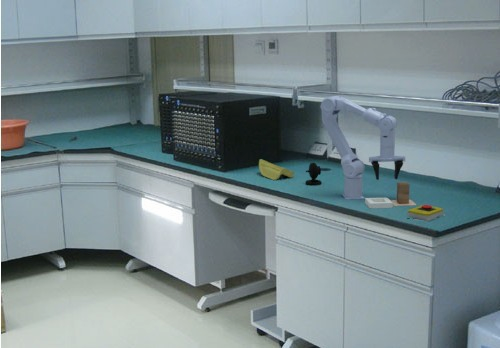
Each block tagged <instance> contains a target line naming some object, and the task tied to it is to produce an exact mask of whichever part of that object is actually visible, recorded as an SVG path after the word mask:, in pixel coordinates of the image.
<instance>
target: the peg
mask: <svg viewBox="0 0 500 348" xmlns="http://www.w3.org/2000/svg"><path fill="white" fill-rule="evenodd" d="M396 200H397V202H398V203H399V204H409V200H410V183H409V182H408V181H401V182H399V181H398V182H396Z"/></svg>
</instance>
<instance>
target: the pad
mask: <svg viewBox="0 0 500 348" xmlns="http://www.w3.org/2000/svg"><path fill="white" fill-rule="evenodd" d="M389 200H390V201H391V202H392V203H393V207H402V206H404V207H405V206H406V207H408V206H417V204H416V202H414V200H412V199H409V204H399V203H398V202H397V199H389Z"/></svg>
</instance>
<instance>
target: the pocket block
mask: <svg viewBox="0 0 500 348" xmlns="http://www.w3.org/2000/svg"><path fill="white" fill-rule="evenodd" d="M364 198H365V200H364V203H365V205H366V206H367V207H368V208H369V209H393V207H394V205H393V203H392V202H391V201H390V200H391V199H389V198H388V197H364Z"/></svg>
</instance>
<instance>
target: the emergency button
mask: <svg viewBox="0 0 500 348" xmlns="http://www.w3.org/2000/svg"><path fill="white" fill-rule="evenodd" d="M406 215H407V219H406V220H409V219H410V218H413V219H415V220H424V221H428V222H431V221H433V219H434V220H436V219H440V217H441V216H442V217H444V216H446V214H444V208H441V207H436V206H432V205H431V204H422V205H418V206H417V207H413V208H410V209H407V214H406ZM408 217H409V218H408ZM430 220H431V221H430Z"/></svg>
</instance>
